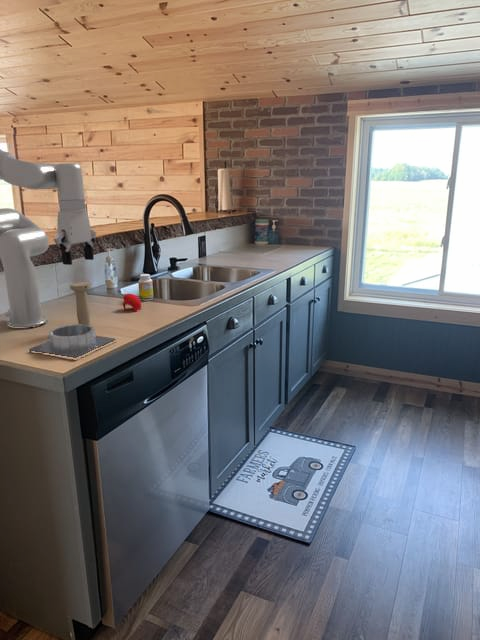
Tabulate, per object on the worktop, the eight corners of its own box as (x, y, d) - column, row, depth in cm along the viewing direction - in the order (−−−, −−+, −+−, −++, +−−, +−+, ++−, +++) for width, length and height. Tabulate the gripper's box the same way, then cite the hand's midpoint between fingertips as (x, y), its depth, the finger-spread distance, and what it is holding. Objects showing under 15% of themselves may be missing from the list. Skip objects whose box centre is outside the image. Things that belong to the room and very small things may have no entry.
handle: (97, 327, 157) (93, 283, 153) (82, 332, 152) (77, 286, 147) (87, 325, 159) (82, 281, 155) (72, 330, 154) (66, 285, 150)
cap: (116, 301, 177) (122, 295, 173) (127, 293, 181) (133, 287, 177) (130, 318, 178) (136, 313, 174) (140, 309, 182) (147, 304, 178)
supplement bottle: (140, 298, 195) (138, 273, 192) (153, 297, 196) (152, 273, 193) (139, 301, 190) (137, 276, 187) (153, 301, 191) (151, 275, 188)
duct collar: (29, 352, 135) (26, 335, 133) (71, 334, 150) (70, 319, 148) (76, 360, 128) (74, 343, 127) (115, 341, 143) (114, 325, 142)
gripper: (82, 204, 153) (88, 257, 158) (41, 207, 138) (48, 265, 143) (101, 204, 150) (106, 258, 155) (61, 207, 135) (68, 267, 140)
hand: (78, 261), depth 149 cm, fingers open, 9 cm apart
